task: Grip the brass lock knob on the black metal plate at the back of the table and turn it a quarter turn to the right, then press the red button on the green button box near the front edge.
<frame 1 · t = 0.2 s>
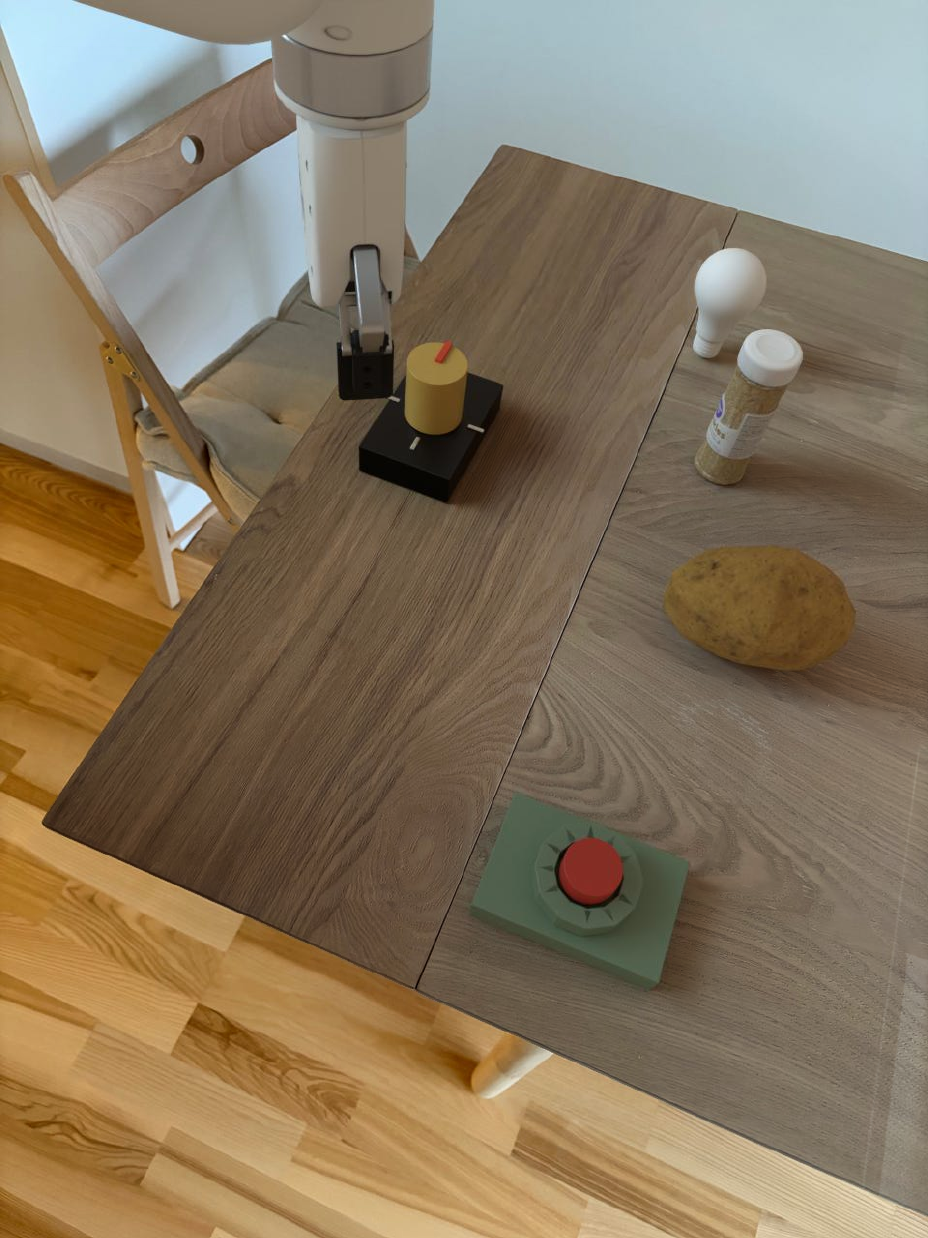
hand: (357, 340, 59), 19 cm above the table, tool pointing down, fingers open, 9 cm apart
lock knob: (435, 387, 76), point 6 cm above the table, hinge at 0.0°
green button box: (577, 893, 61), on the table
potato: (737, 639, 73), on the table
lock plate: (431, 439, 81), on the table
lightbulb: (702, 356, 90), on the table
bell button: (590, 871, 57), point 4 cm above the table, slide at 0.1 cm
spice jar: (718, 469, 82), on the table
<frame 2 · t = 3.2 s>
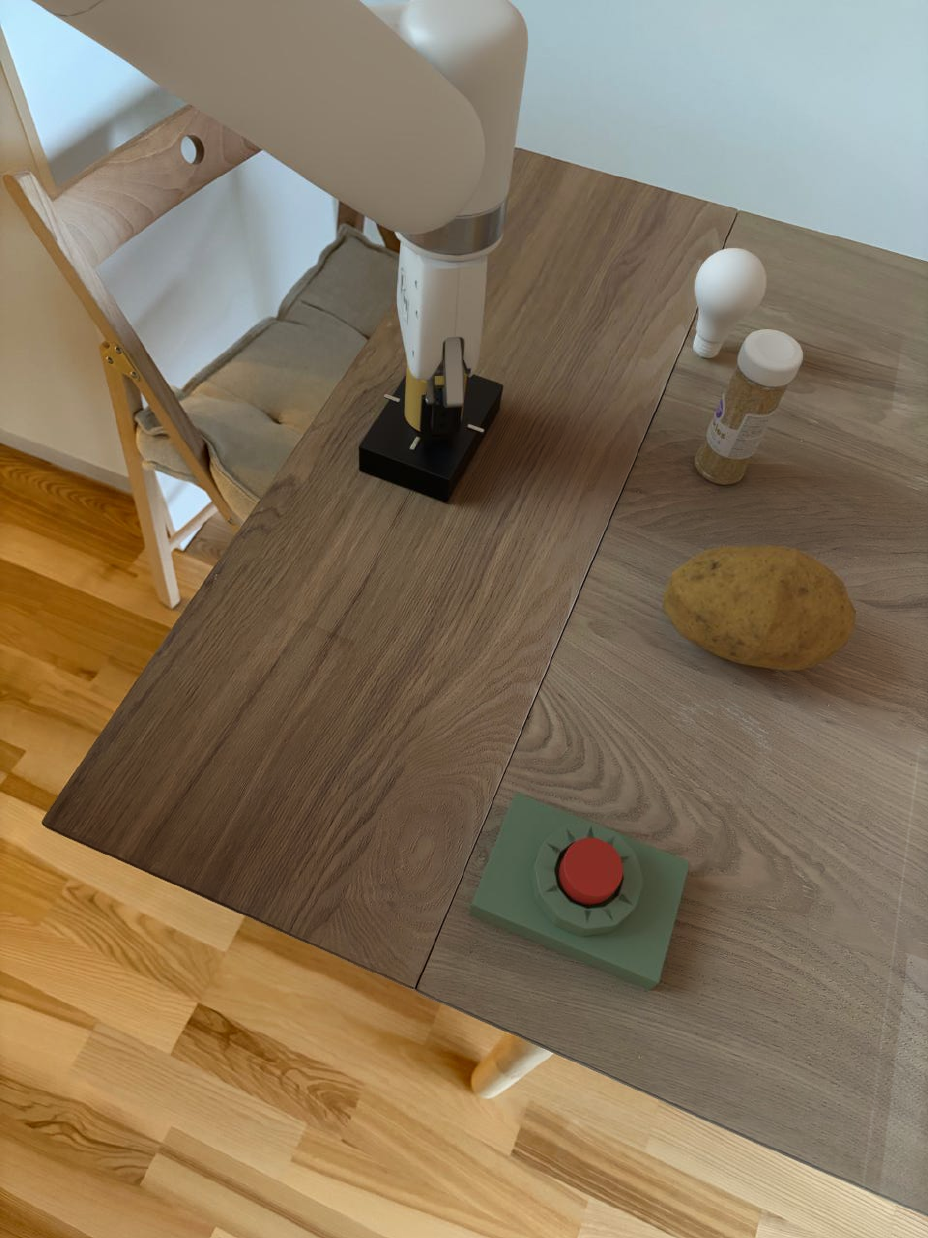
hand: (434, 405, 77), 4 cm above the table, tool pointing down, fingers closed on lock knob, 4 cm apart
lock knob: (435, 387, 76), point 6 cm above the table, hinge at -0.2°, touching gripper
everything else where it was.
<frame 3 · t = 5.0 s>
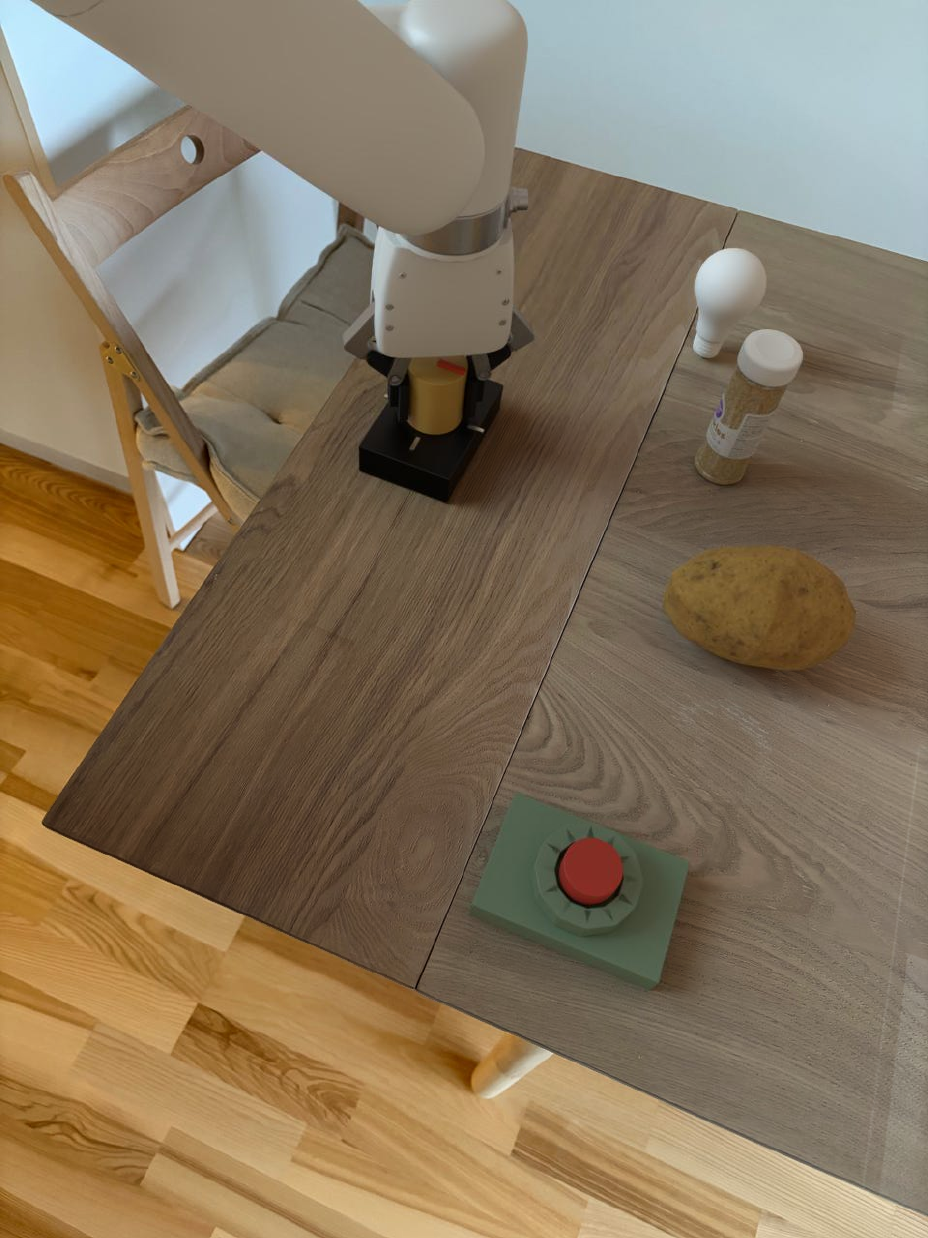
hand: (434, 405, 77), 4 cm above the table, tool pointing down, fingers closed on lock knob, 4 cm apart
lock knob: (435, 387, 76), point 6 cm above the table, hinge at -92.2°, touching gripper
everything else where it was.
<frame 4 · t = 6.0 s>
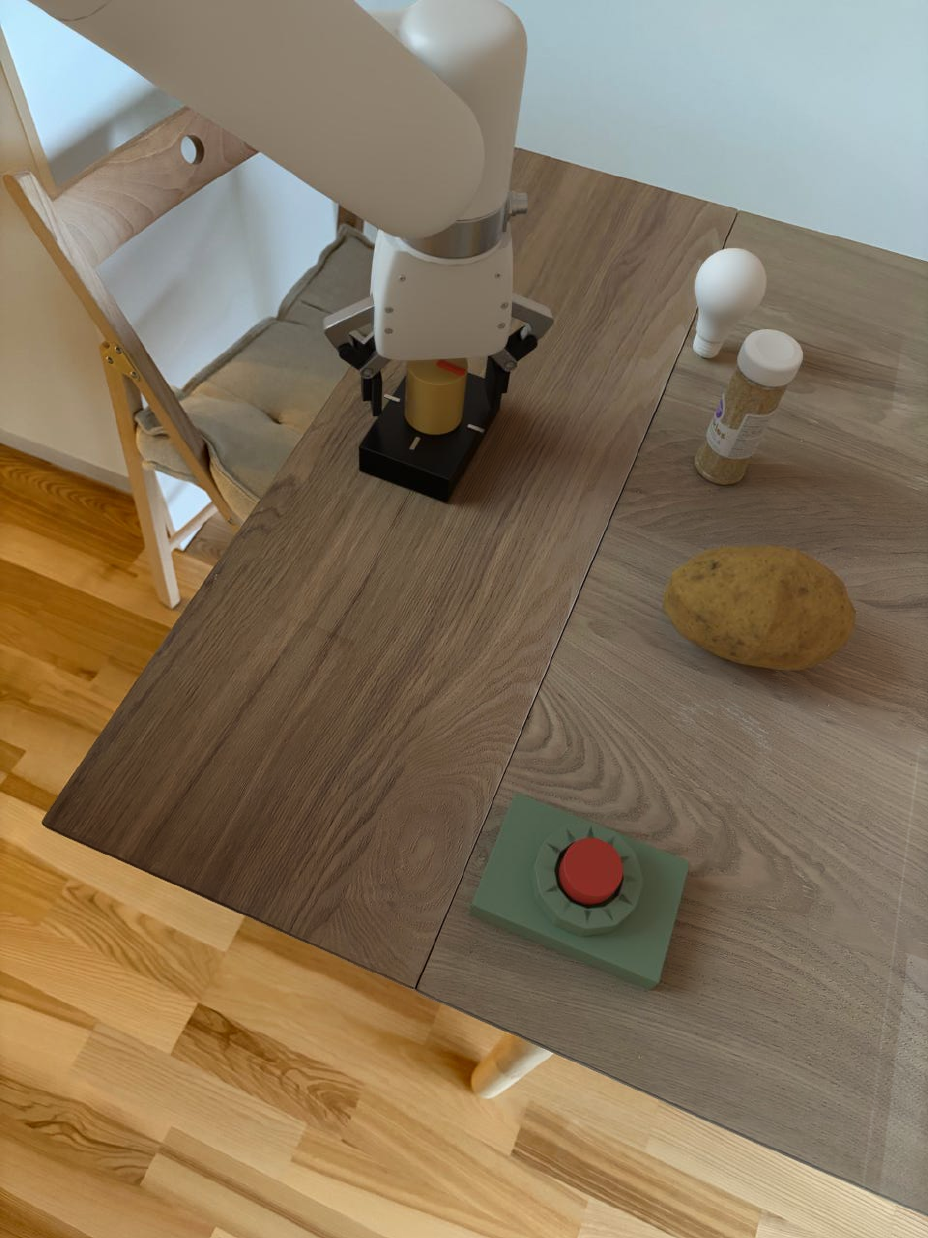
hand: (433, 400, 77), 5 cm above the table, tool pointing down, fingers open, 9 cm apart
lock knob: (435, 387, 76), point 6 cm above the table, hinge at -94.4°
everything else where it was.
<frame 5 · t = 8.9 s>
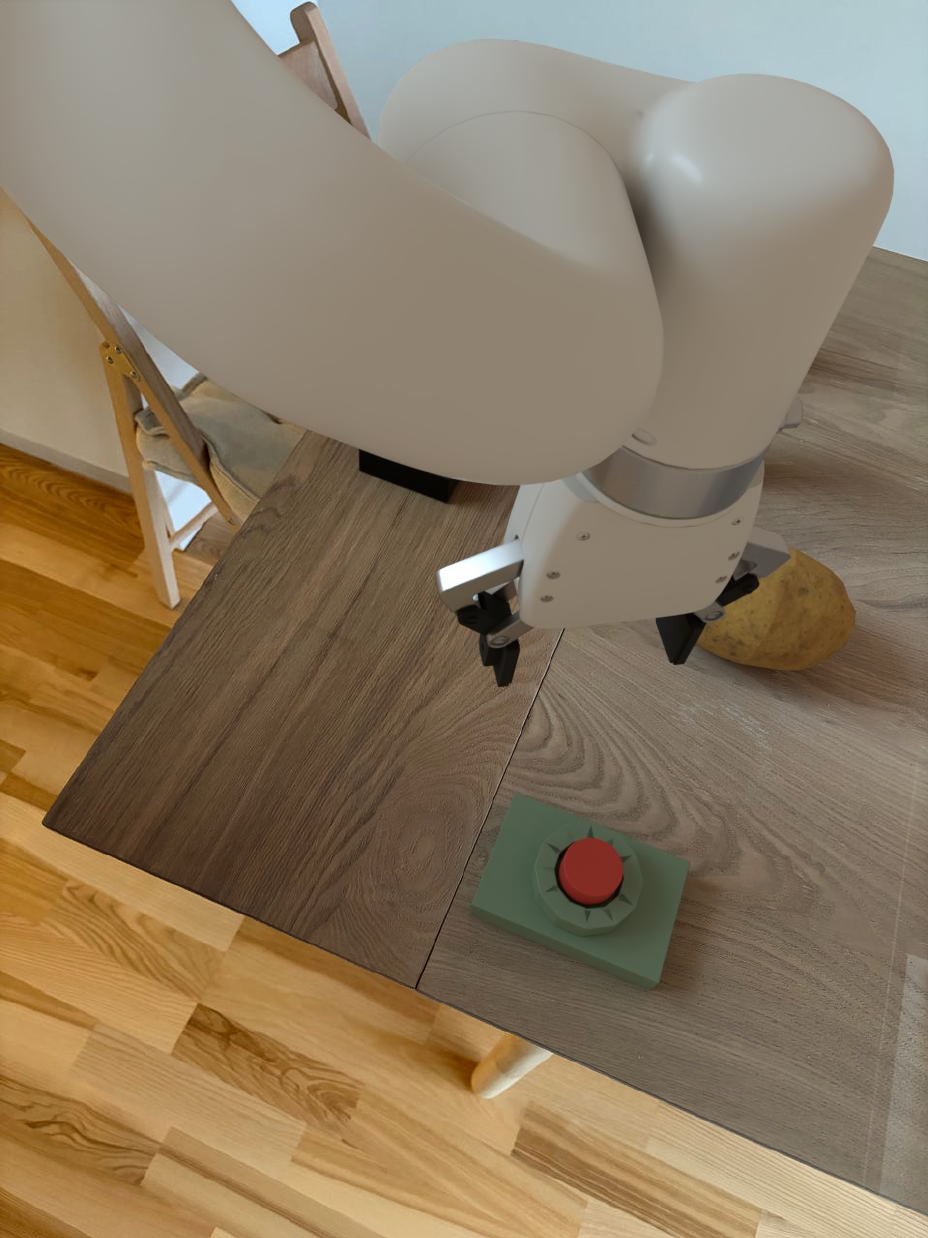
hand: (584, 652, 51), 16 cm above the table, tool pointing down, fingers open, 9 cm apart
nothing on the table moved.
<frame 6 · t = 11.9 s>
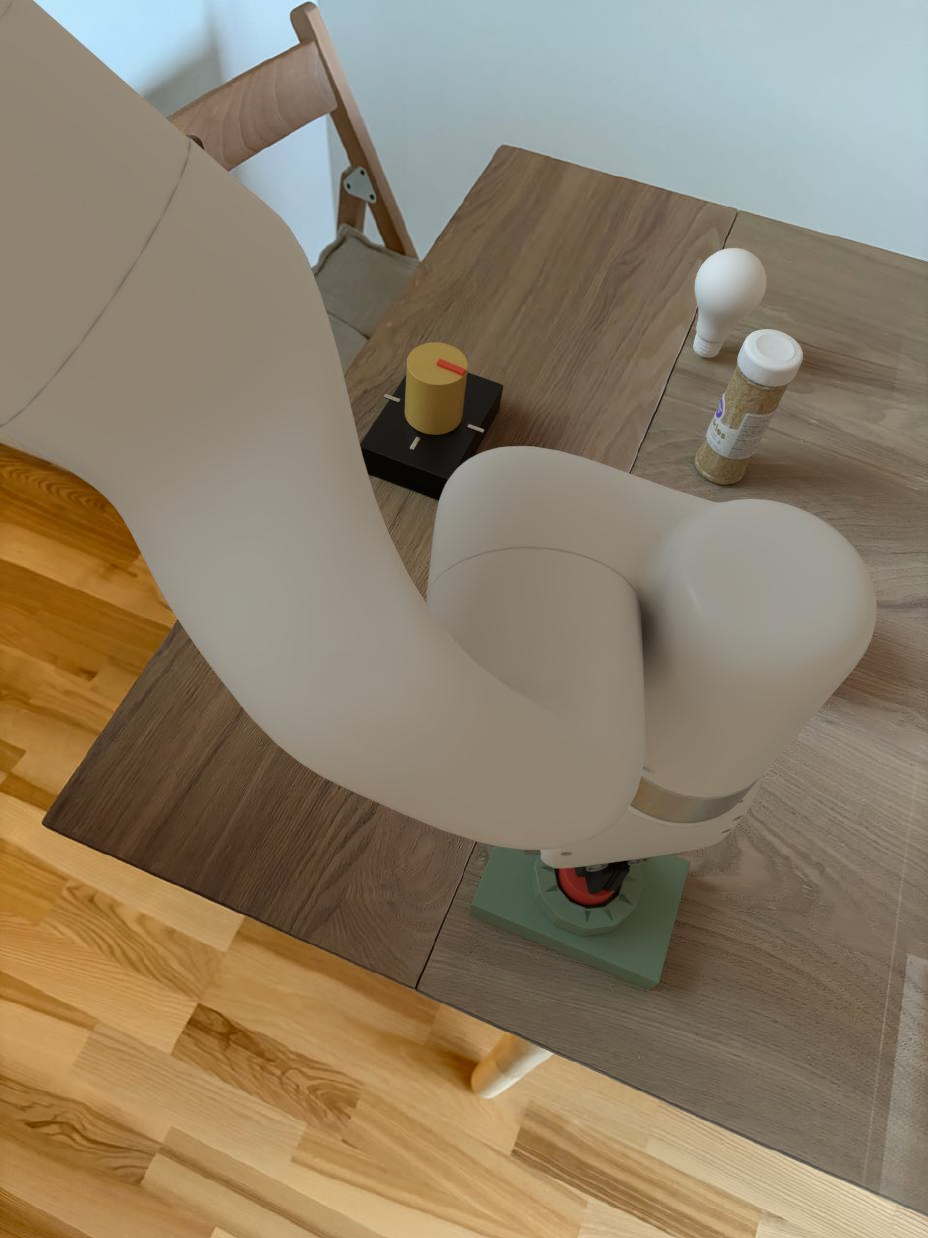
hand: (595, 867, 56), 5 cm above the table, tool pointing down, fingers closed
bell button: (590, 871, 57), point 4 cm above the table, slide at 0.0 cm, touching gripper
everything else where it was.
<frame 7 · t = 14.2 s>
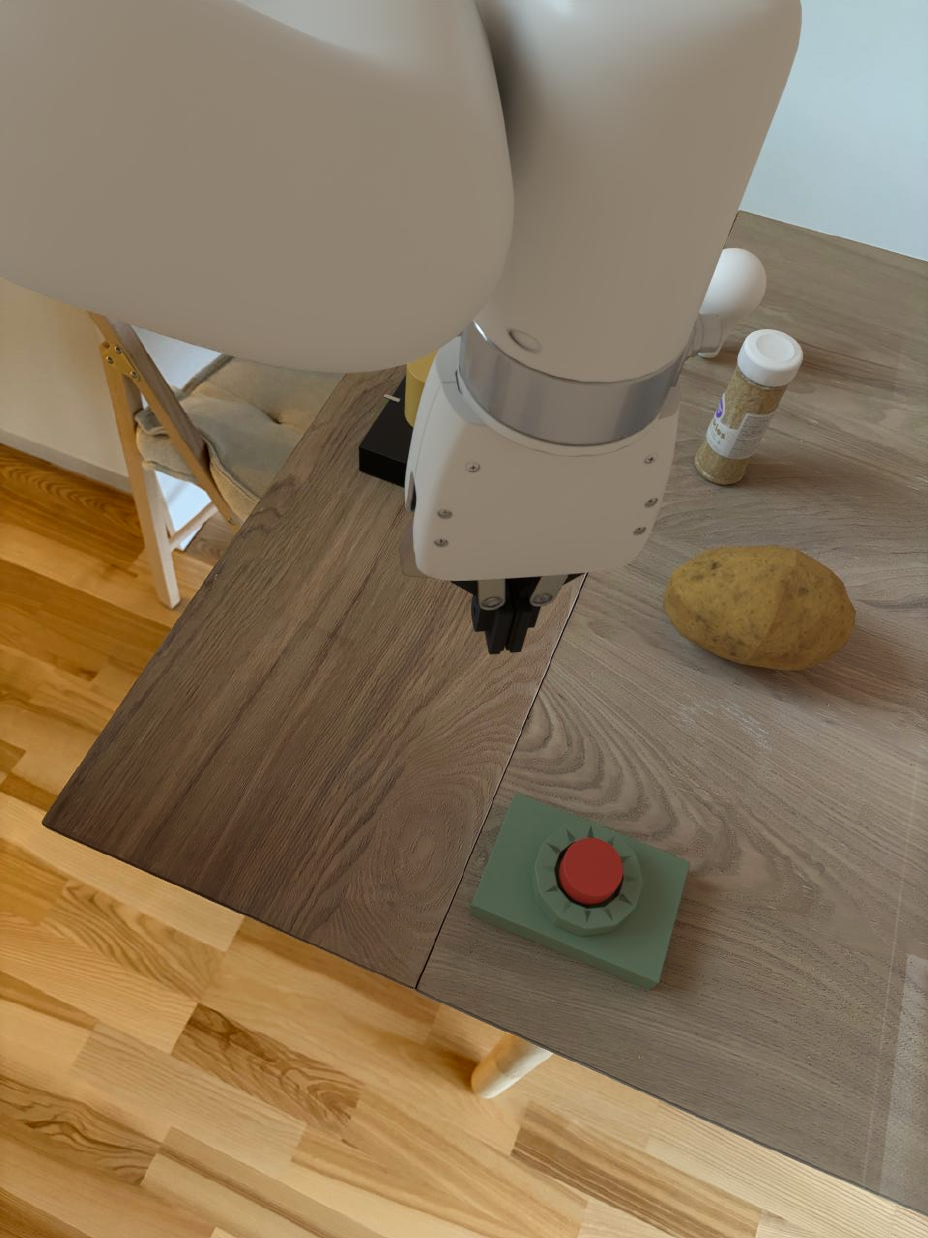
hand: (499, 628, 48), 19 cm above the table, tool pointing down, fingers closed
bell button: (590, 871, 57), point 4 cm above the table, slide at 0.1 cm
everything else where it was.
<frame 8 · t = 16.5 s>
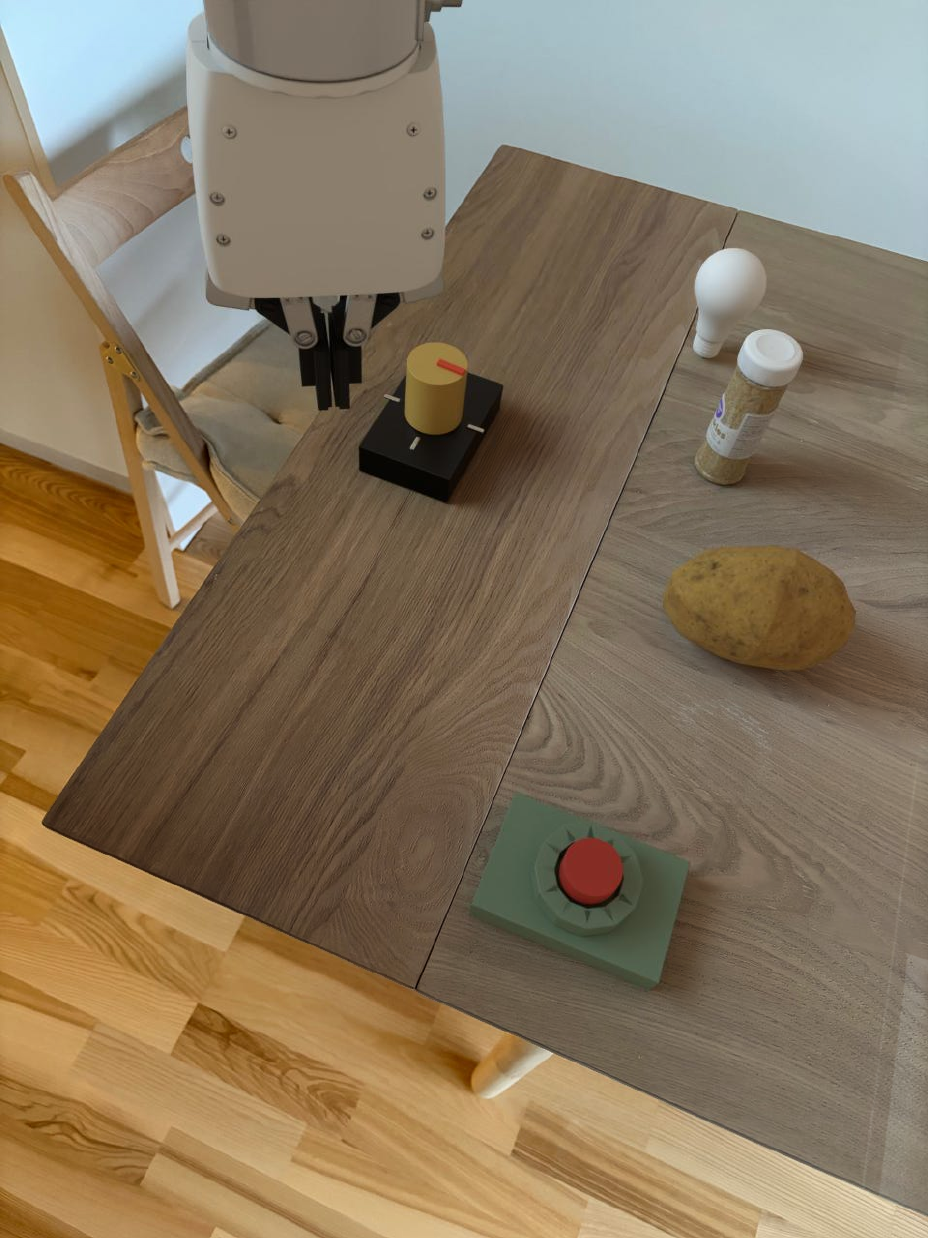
hand: (331, 389, 48), 25 cm above the table, tool pointing down, fingers closed
nothing on the table moved.
at the end: lock knob at -94° (first picture: +0°); bell button pushed in 1.1 cm at the most during the clip, back to where it started at the end; bell button slide at 0.1 cm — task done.
